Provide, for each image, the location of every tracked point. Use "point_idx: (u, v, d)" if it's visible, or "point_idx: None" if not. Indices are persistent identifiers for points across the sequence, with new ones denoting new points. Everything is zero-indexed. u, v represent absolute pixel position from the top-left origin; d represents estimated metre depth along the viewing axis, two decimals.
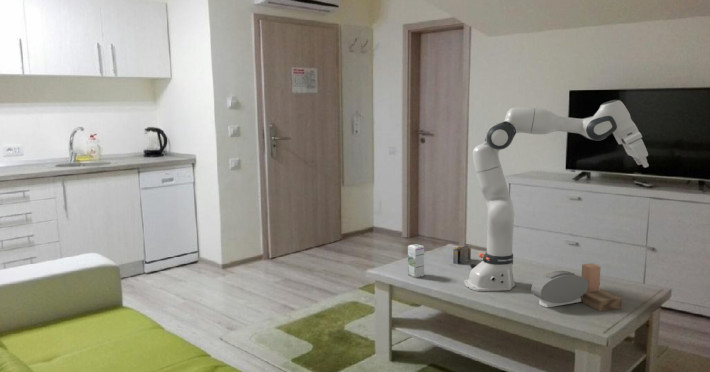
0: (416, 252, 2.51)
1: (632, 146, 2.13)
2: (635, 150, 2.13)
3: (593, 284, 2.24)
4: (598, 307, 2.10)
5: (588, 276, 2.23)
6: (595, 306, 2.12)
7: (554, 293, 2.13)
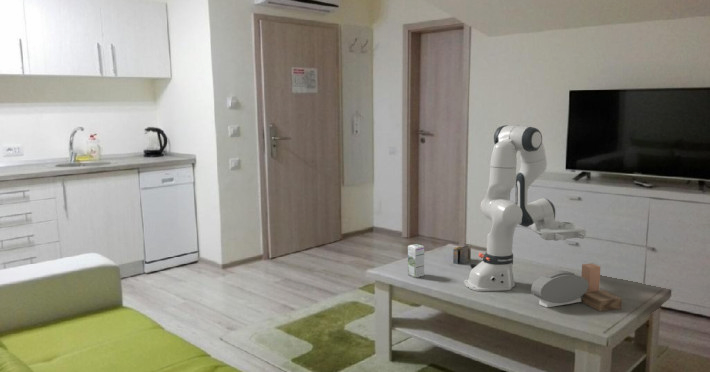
0: (416, 252, 2.51)
1: None
2: None
3: (593, 284, 2.24)
4: (598, 307, 2.10)
5: (588, 276, 2.23)
6: (595, 306, 2.12)
7: (554, 293, 2.13)
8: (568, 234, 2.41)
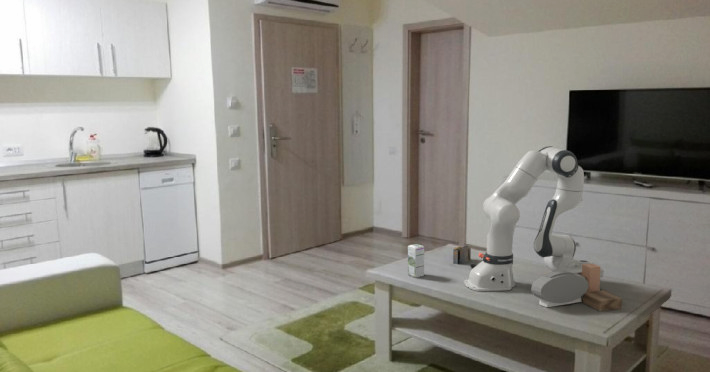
0: (416, 252, 2.51)
1: None
2: None
3: (593, 283, 2.24)
4: (598, 307, 2.10)
5: (588, 276, 2.23)
6: (595, 306, 2.12)
7: (554, 292, 2.13)
8: None
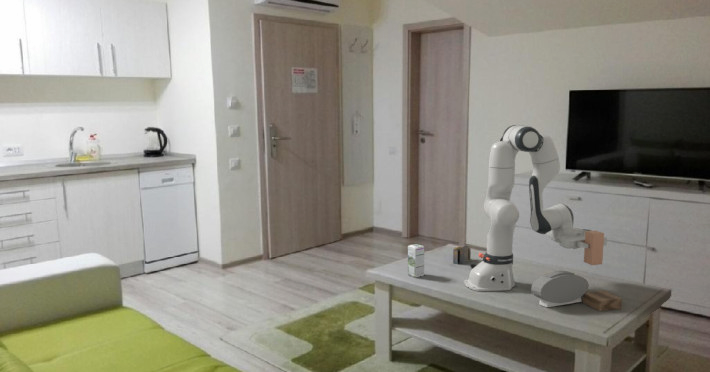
0: (416, 252, 2.51)
1: None
2: None
3: (597, 250, 2.21)
4: (598, 307, 2.10)
5: (592, 243, 2.20)
6: (595, 306, 2.12)
7: (554, 292, 2.13)
8: None
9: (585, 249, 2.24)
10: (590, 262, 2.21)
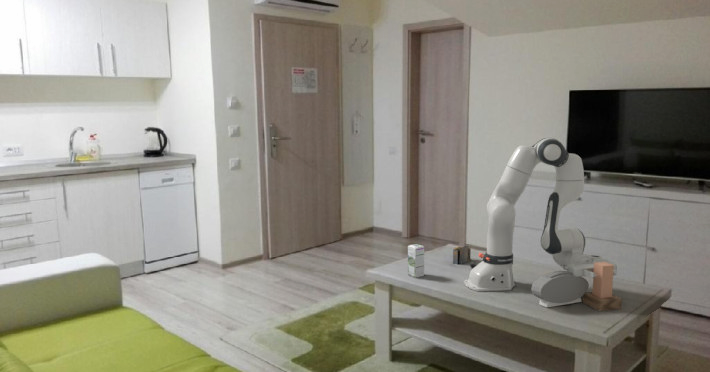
0: (415, 252, 2.51)
1: None
2: None
3: (606, 283, 2.12)
4: (598, 307, 2.10)
5: (601, 276, 2.12)
6: (595, 306, 2.12)
7: (554, 292, 2.13)
8: None
9: (594, 281, 2.16)
10: (600, 295, 2.13)
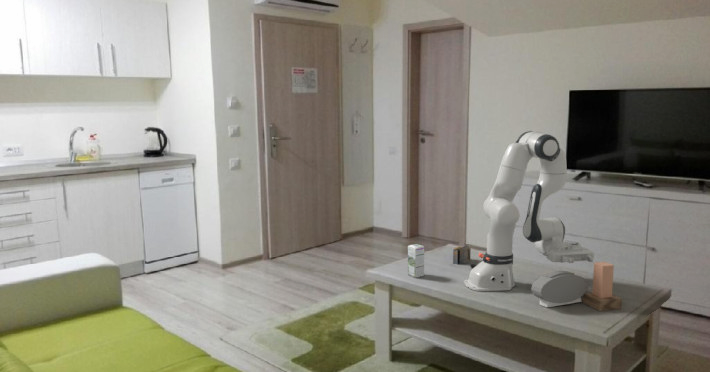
0: (416, 252, 2.51)
1: None
2: None
3: (606, 283, 2.12)
4: (598, 307, 2.10)
5: (601, 276, 2.12)
6: (595, 306, 2.12)
7: (554, 292, 2.13)
8: (575, 256, 2.31)
9: (594, 281, 2.16)
10: (600, 295, 2.13)
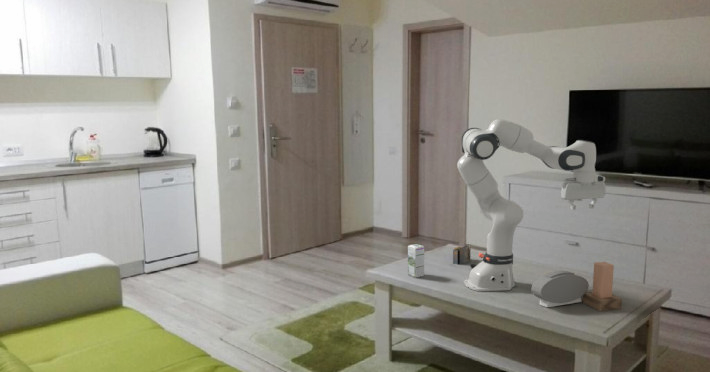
0: (416, 252, 2.51)
1: None
2: None
3: (606, 283, 2.12)
4: (598, 307, 2.10)
5: (601, 276, 2.12)
6: (595, 306, 2.12)
7: (554, 292, 2.13)
8: None
9: (594, 281, 2.16)
10: (600, 295, 2.13)
